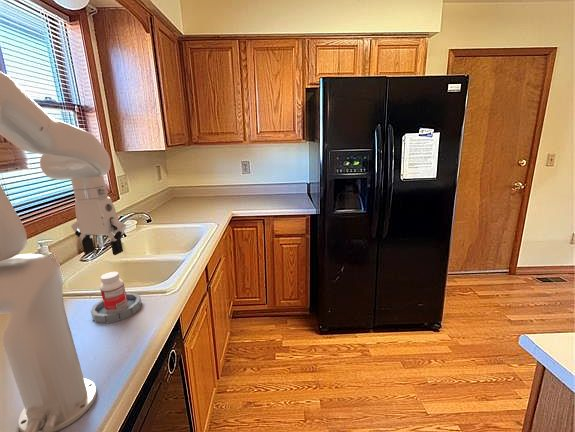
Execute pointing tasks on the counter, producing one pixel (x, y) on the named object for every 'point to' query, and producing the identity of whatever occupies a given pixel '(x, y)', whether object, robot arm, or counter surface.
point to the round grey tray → (104, 317)
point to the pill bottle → (113, 292)
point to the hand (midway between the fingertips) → (104, 253)
